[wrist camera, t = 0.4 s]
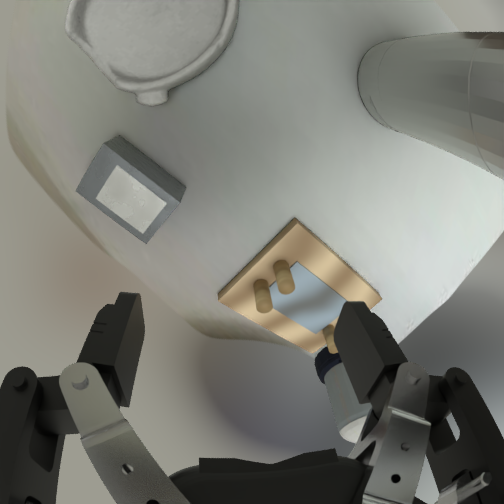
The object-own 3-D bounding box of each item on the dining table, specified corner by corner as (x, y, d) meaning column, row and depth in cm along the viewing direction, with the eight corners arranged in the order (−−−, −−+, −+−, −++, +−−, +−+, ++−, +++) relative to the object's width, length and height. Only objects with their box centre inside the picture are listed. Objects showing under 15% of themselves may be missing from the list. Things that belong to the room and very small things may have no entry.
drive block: (120, 135, 23) (103, 143, 19) (186, 186, 26) (179, 203, 23) (93, 176, 24) (74, 191, 21) (155, 223, 28) (146, 244, 24)
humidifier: (356, 330, 38) (419, 495, 17) (370, 356, 42) (422, 494, 21) (305, 355, 40) (345, 522, 19) (325, 378, 44) (362, 517, 22)
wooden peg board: (218, 293, 33) (217, 323, 29) (294, 217, 28) (306, 241, 24) (310, 347, 39) (318, 373, 35) (378, 293, 35) (393, 318, 31)
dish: (180, 117, 23) (170, 123, 18) (62, 58, 18) (33, 57, 14) (277, -8, 17) (288, -28, 13) (149, -62, 12) (136, -84, 8)
